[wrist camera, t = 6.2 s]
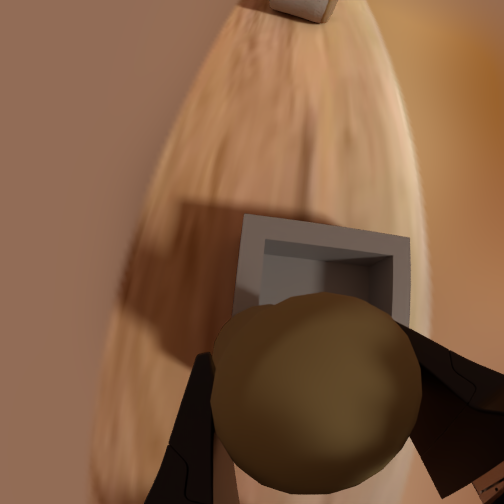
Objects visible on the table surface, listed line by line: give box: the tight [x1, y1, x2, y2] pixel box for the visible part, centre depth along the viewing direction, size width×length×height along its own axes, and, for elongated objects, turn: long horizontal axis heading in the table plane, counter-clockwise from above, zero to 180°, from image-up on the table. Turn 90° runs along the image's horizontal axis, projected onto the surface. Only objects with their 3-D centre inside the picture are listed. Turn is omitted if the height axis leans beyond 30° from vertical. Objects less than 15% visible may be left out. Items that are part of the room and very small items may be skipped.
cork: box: [210, 292, 422, 494], centre depth 10 cm, size 6×6×11 cm
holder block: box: [232, 214, 411, 328], centre depth 21 cm, size 12×12×5 cm
